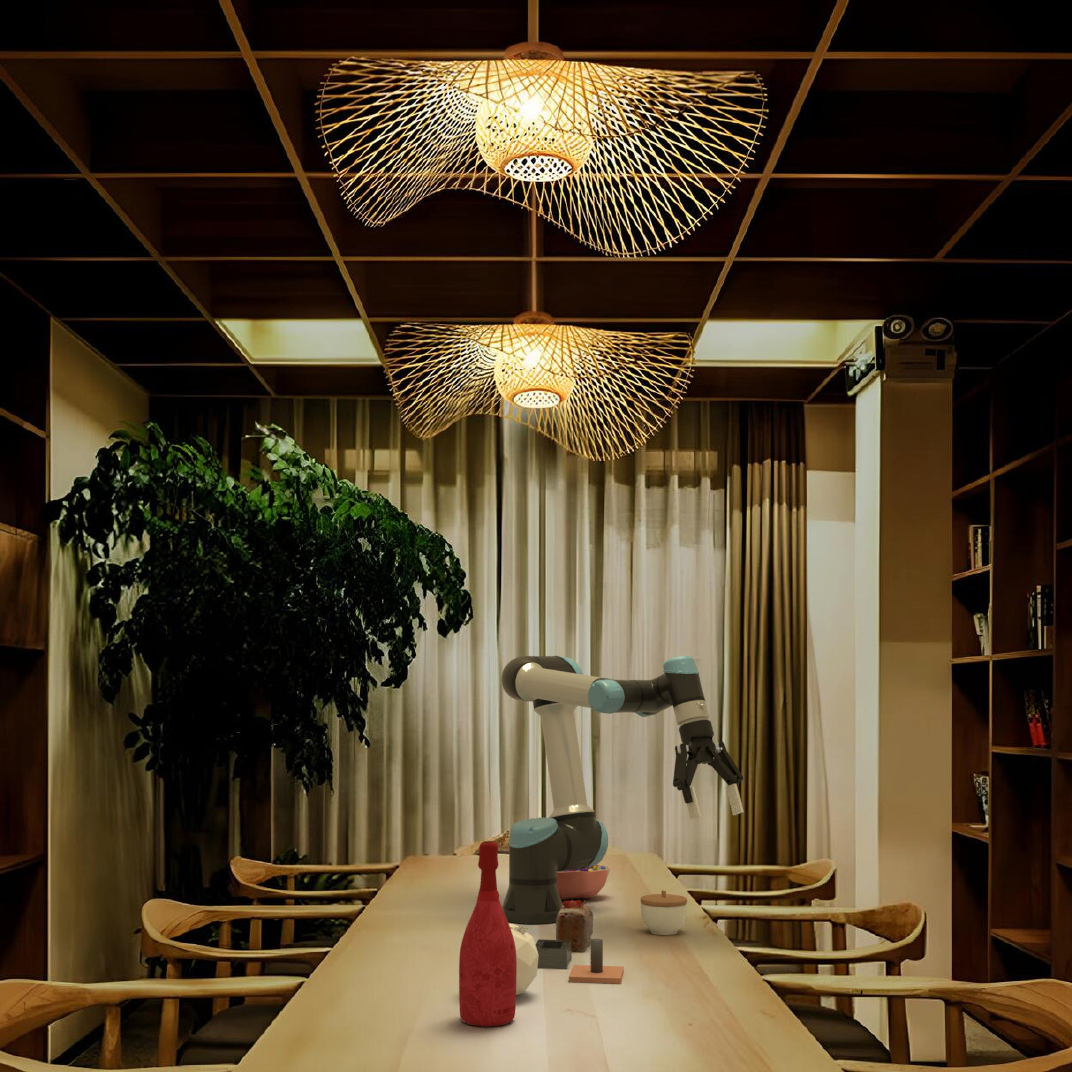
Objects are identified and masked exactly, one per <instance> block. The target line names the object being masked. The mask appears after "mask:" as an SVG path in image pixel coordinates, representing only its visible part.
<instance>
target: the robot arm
mask: <svg viewBox="0 0 1072 1072" xmlns="http://www.w3.org/2000/svg"><path fill="white" fill-rule="evenodd" d="M662 666H663V674H661V675H659V676H657V677H655V678H653V679H613V678H606V677H600V676H594V675H588V674H584V673H583V670H582V668H581V666H580V665H579V663H577V662H576V661H574V659H572V658H570V657H566V656H560V655H552V656H551V655H545V656H544V655H540V656H539V655H536V656H535V655H522V656H518V657H515V658H513V659H511V660H510V661H509V662H507V664H506V665H505V666H504V668H503V670H502V674H501V679H500V681H501V686H502V689H503V690H504V692H505V694H507V696H509V697H510V698H511V699H514V700H516V701H521V702H532V705H533V711H534V712H535V713H536V714H537V715H539V717H540V719H541V728H542V735H543V741H544V747H545V756H546V762H547V771H548V777H549V784H550V789H551V791H550V792H551V799H552V804H553V810H552V813H551V814H550V815H549V817H536V818H534V817H533V818H527V819H522V820H519V821H517V822H514V823H513V824H512V825H511V826H510V829H509V838H508V845H509V846H508V849H509V850H508V851H509V852H508V853H509V854H508V855H509V859H508V861H509V863H508V866H509V867H508V869H509V871H508V874H509V875H508V883H509V884H508V888H507V891H506V895H505V898H504V901H503V904H502V909H503V911H504V914H505V916H506V918H507V921H508V923H510V922H511V923H514V924H528V925H530V924H531V925H532V924H533V925H535V924H536V925H540V924H550V923H556V918H557V915H558V914H559V911H560V909H561V907H562V905H563V902H562V899H561V898H560V895H559V892H558V888H557V871H564V870H572V869H584V868H587V867H592V866H595V865H599V863H601V862H602V861H603V859H604V857H605V856H606V853H607V851H608V847H609V833H608V831H607V828H606V826H605V825H604V823H603V822H602V820H601V821H600V820H599V819H597V818H596V814H595V809H593V808H591V807H590V806H589V805H588V800H587V792H586V787H585V781H584V779H585V778H584V773H583V767H582V766H583V765H582V760H581V753H580V746H579V740H578V739H579V738H578V733H577V732H578V731H577V725H576V719H575V718H576V717H575V710H576V709H577V708H578V707H584V708H588V709H593V711H594V712H596V713H602V714H608V715H609V714H615V713H617V714H618V713H620V714H621V713H632V714H633V713H635V714H637V715H638V716H640V717H641V718H642V717H643V718H648V717H650V716H655V715H657V714H659V713H660V712H662V711H665V710H667V709H668V708H671V707H672V708H673V711H674V716H675V720H676V721H675V722H676V725H677V726H679V727H678V733H679V737H680V740H681V743H680V744H677V745H675V747H674V751H675V761H674V762H675V763H674V770H673V779H672V786H673V788H676V789H677V790H678V791H679V792H680V791H681V792H682V795H683V801H684V803H685V804H686V807H687V810H688V814H689V818H690V820H694V819H697V818H700V817H702V813H701V810H700V809H701V808H700V805H699V801H698V797H697V794H696V789H695V786H691V785H692V783H693V780H694V776H695V774H696V771H697V768H698V765H700V764H702V765H706V764H707V765H708V766H711V767H712V768H713V770H714V771H715V772H716V773H717V774H718V775H719V776H720V777H721V779H722V780H723V781H724V782H725V783H726V784H727V786H725V789H726V793H727V797H728V801H729V806H730V808H731V812H732V813H731V814H732V816H737V815H739V814H742V813H744V808H743V804H742V800H741V792H740V788H739V784H740V783H741V782H742V781H744V776H743V774H742V773H741V772H740V770H739V768H738V766H737V764H736V763H735V762H734V760H733V758H732V757H731V755H730V753H729V752H728V750H727V748H726V745H725V742H724V741H720V742H719V741H718V742H717V743H715V742H714V740H713V737H714V735H715V733H714V730H713V726H712V721H711V720H710V719H709V718H710V714H709V711H708V707H707V703H706V698H705V695H704V691H703V687H702V686H703V685H702V683H701V677H700V673H699V670H698V667H697V664H696V662H695V659H694V657H692V656H690V655H678V656H675V657H671V658H668V659H667V660H665V661H664V662H663V665H662Z"/></svg>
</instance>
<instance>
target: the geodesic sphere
mask: <svg viewBox="0 0 1072 1072" xmlns="http://www.w3.org/2000/svg"><path fill="white" fill-rule="evenodd" d="M509 926H510V928H511V931H512V935H513V938H514V942H515V947H516V962H517V974H516V996H517V995H520V994H523V993H525V992H526V991H527V989H528V988H529V986H530V985H531V984H532V982H533V981H534V980H535V979H536V977H537V975H538V968H537V967H538V952H537V948H536V945H535V944H536V942H535V939H534V936H532V935H531V934H530V933H529V932H527V930H528V929H529V928H528V927H527V926H524V925H523V926H521V925H519V926H518V925H517V924H515V923H514V924H513V923H509Z"/></svg>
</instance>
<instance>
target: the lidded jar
mask: <svg viewBox="0 0 1072 1072" xmlns="http://www.w3.org/2000/svg"><path fill="white" fill-rule="evenodd" d="M687 905H688V898H687V897H685V896H683V895H680V894H679V895H678V894H670V893H667V890H665V889H664V890H662V889H661V893H654V894H652V893H651V894H646V895H642V896H641V897H640V910H641V911H640V912H641V917H642V921H643V923H644V925H645V926H646V928H647V929H648V930H649V931H650V933H651V934H653V935H657V936H658V935H659V936H673V935H676V934H678V932H679V931H680V929H682V928H683V926H684V924H685V922H686V919H687V913H688V912H687V911H688V910H687V908H688V907H687Z"/></svg>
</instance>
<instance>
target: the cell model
mask: <svg viewBox="0 0 1072 1072" xmlns="http://www.w3.org/2000/svg"><path fill="white" fill-rule="evenodd" d="M610 871H611V867H609V866H605V865H599V864H597V865H595V866H592V867H587V868H584V869H572V870H564V871H557V888H558V892H559V895H560V898H561V901H562V900H563V901H570V900H569V899H571V900H576V899H577V900H578V899H589V898H593V897H594V896H596V895H598V894H599V893H600V892H601V891H602V889H603V888H604V887H605V885H606V883H607V880H608V877H609V875H610Z"/></svg>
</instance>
